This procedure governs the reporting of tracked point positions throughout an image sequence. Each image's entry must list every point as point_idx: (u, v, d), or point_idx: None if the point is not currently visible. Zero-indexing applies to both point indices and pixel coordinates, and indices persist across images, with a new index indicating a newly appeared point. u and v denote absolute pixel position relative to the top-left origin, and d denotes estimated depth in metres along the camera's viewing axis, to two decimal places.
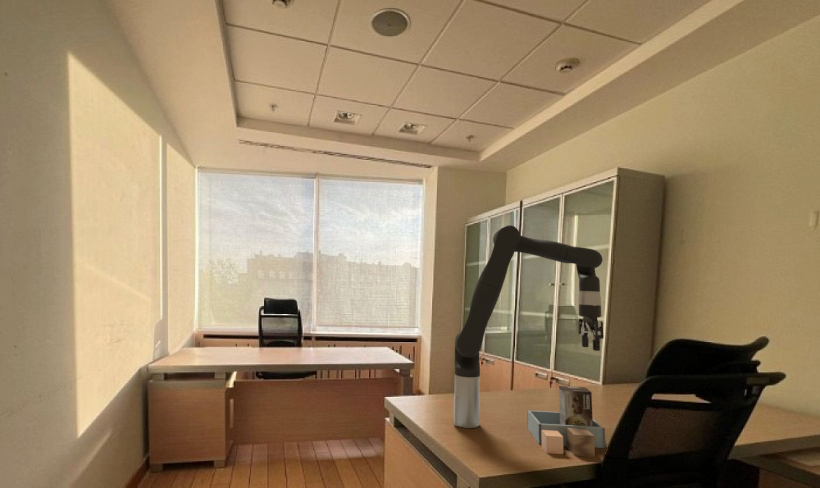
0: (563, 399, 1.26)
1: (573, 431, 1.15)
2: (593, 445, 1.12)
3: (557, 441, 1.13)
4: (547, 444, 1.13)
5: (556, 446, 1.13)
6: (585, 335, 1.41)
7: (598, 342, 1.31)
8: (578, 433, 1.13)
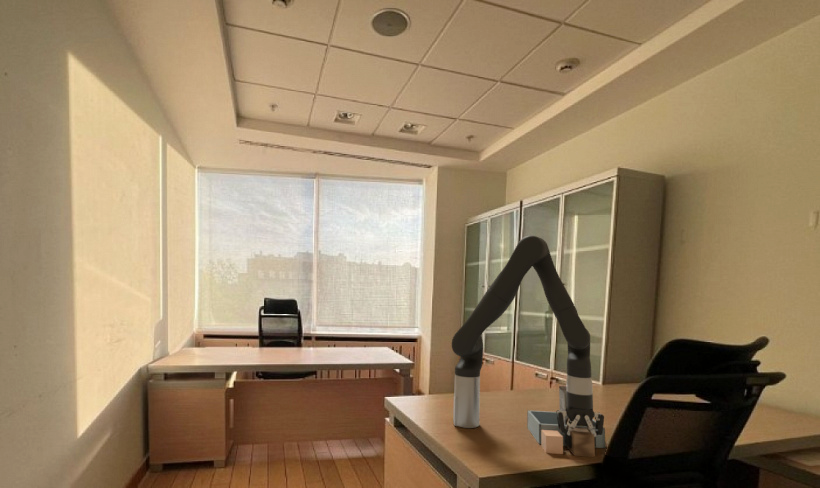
0: (563, 399, 1.26)
1: (573, 431, 1.15)
2: (594, 445, 1.12)
3: (557, 441, 1.13)
4: (547, 444, 1.13)
5: (555, 446, 1.13)
6: None
7: (594, 438, 1.15)
8: (578, 433, 1.13)
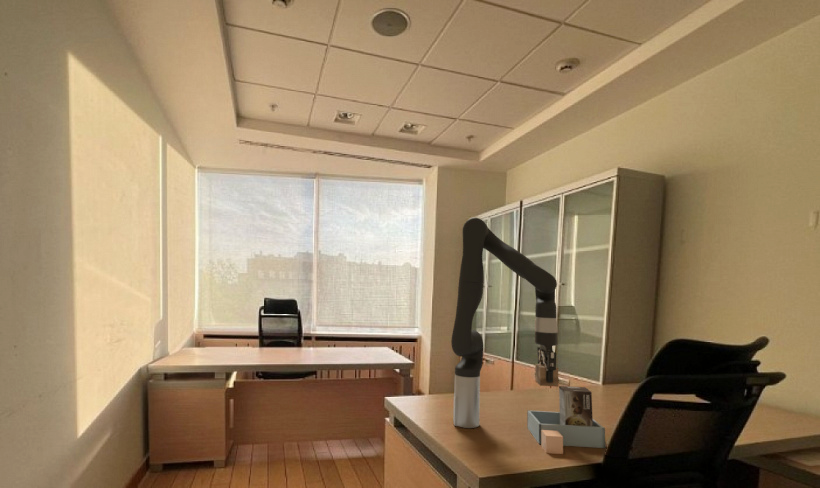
0: (563, 399, 1.26)
1: None
2: None
3: (557, 441, 1.13)
4: (547, 444, 1.13)
5: (555, 446, 1.13)
6: None
7: None
8: None
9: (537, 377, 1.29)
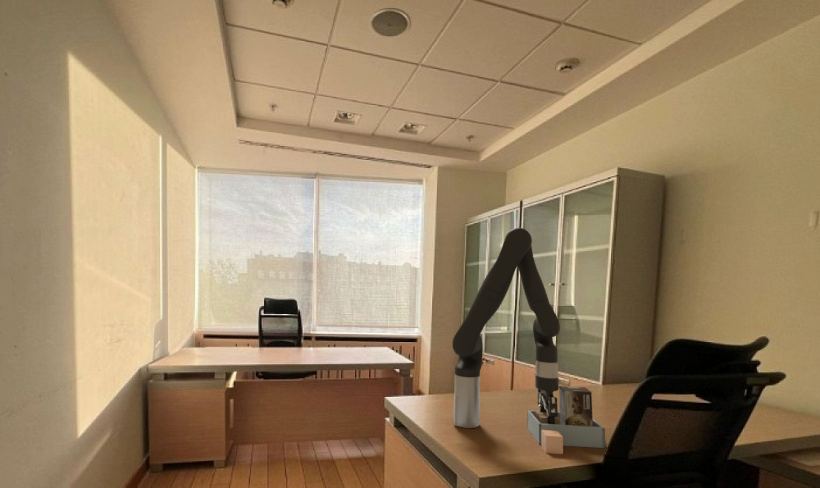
0: (563, 399, 1.26)
1: None
2: None
3: (557, 441, 1.13)
4: (547, 444, 1.13)
5: (555, 446, 1.13)
6: None
7: None
8: None
9: None
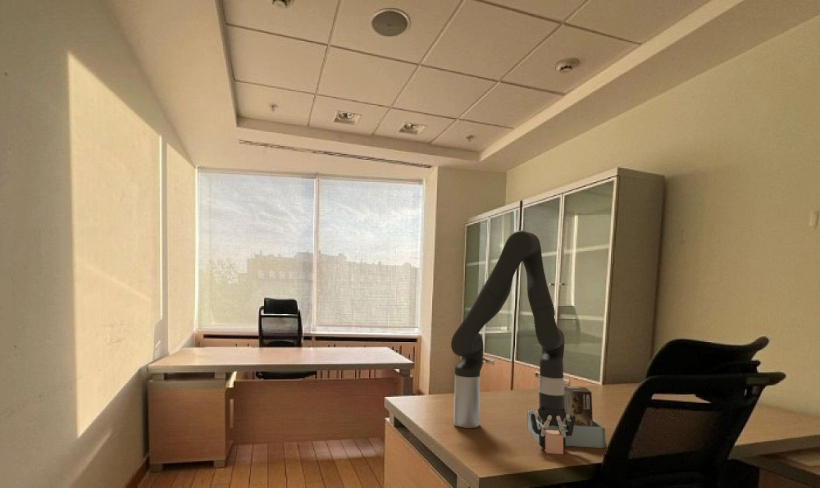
0: None
1: None
2: None
3: (557, 441, 1.13)
4: (547, 443, 1.13)
5: (555, 446, 1.13)
6: None
7: None
8: None
9: None
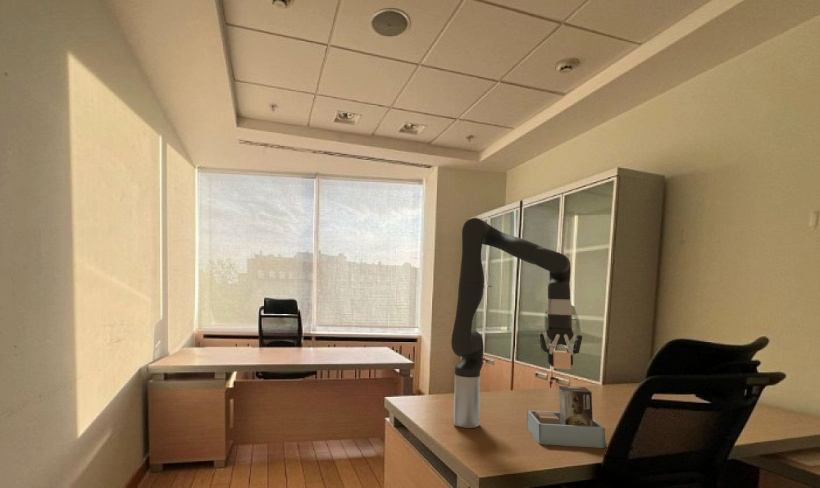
0: (563, 399, 1.26)
1: (549, 417, 1.25)
2: None
3: (565, 357, 1.20)
4: (555, 360, 1.20)
5: (563, 362, 1.19)
6: None
7: None
8: (554, 416, 1.26)
9: None
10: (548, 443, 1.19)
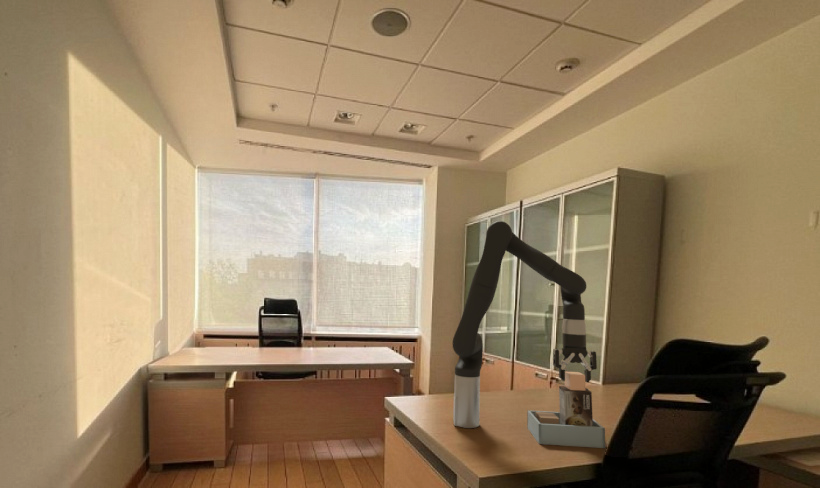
0: (563, 399, 1.26)
1: (549, 417, 1.25)
2: None
3: (580, 379, 1.26)
4: (571, 382, 1.26)
5: (578, 383, 1.26)
6: None
7: None
8: (554, 416, 1.26)
9: None
10: (548, 443, 1.19)
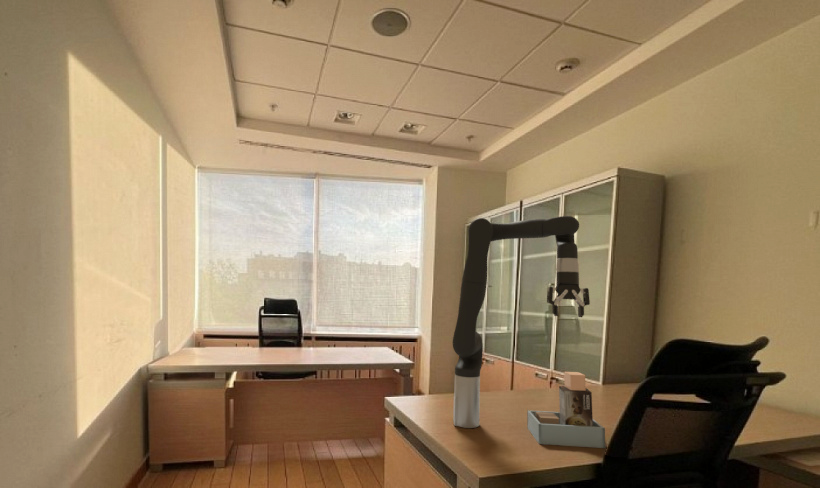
0: (563, 399, 1.26)
1: (549, 417, 1.25)
2: None
3: (580, 379, 1.26)
4: (571, 382, 1.26)
5: (579, 383, 1.26)
6: None
7: None
8: (554, 416, 1.26)
9: None
10: (548, 443, 1.19)
